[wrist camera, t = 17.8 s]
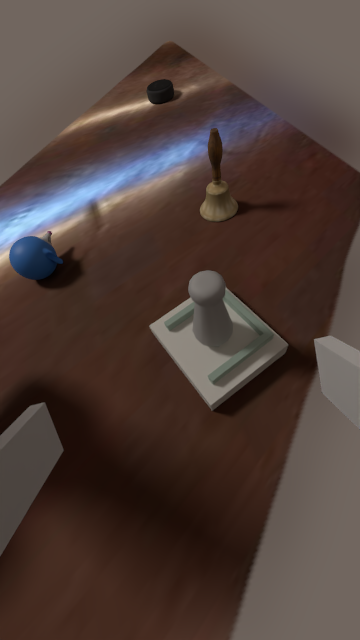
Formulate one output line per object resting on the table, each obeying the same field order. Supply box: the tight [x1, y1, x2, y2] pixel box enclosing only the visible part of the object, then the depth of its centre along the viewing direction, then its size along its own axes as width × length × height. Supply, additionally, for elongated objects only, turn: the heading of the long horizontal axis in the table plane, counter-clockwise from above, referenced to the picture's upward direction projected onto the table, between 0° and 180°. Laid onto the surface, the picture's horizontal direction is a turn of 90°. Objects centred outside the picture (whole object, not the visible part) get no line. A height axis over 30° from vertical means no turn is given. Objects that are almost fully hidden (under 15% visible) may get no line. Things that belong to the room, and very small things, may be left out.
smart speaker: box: [147, 79, 174, 104], centre depth 94 cm, size 9×9×4 cm
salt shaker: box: [188, 270, 233, 347], centre depth 37 cm, size 6×6×13 cm
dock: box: [150, 288, 288, 411], centre depth 43 cm, size 16×14×4 cm
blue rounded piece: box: [9, 231, 63, 280], centre depth 58 cm, size 12×12×8 cm
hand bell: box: [200, 128, 238, 222], centre depth 55 cm, size 8×8×16 cm
